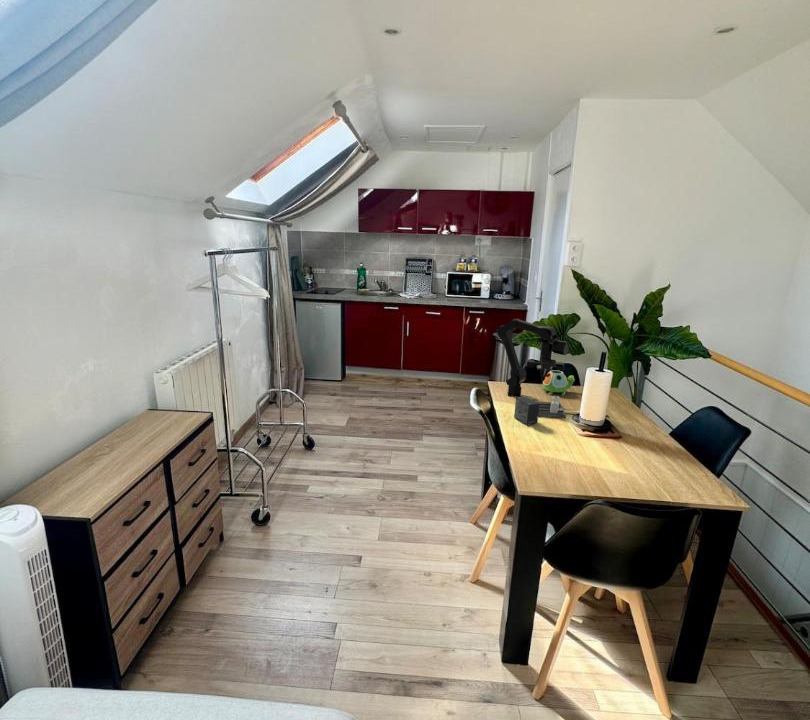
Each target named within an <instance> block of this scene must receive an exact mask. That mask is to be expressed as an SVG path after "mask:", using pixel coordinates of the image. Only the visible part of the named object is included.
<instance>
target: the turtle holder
mask: <svg viewBox="0 0 810 720" xmlns="http://www.w3.org/2000/svg"><path fill="white" fill-rule="evenodd" d="M575 381H576V379H575V376H574V375H572V374H571V375H569V376H568V377H567V376H566V375H565V373H564V372H563V370H558V369H556V370H553V369H552V371H549V372H548V374H547V376H546V378H545V380H544V381H542V388H543V390H544V391H548V393H547V395H548V396H549V395H551V396H553V395H554V393H561V395H562V396H565V395H566V392H567V391H568V390H569V389H570V388H572V386H573V384H574V382H575Z"/></svg>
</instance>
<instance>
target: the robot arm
mask: <svg viewBox="0 0 810 720" xmlns="http://www.w3.org/2000/svg"><path fill="white" fill-rule="evenodd" d="M517 328H518V329H521V330H524V331H527V332H530V333H532V334H536V335H537V336H538V337H540V338H539V339H538V340H537V343H540V344H541V345H540V353H539V361H535V360H534V359H526V360H525V366H526V368H532V369H533V368H534V367H536V368H537V370H539V372H540V376H541V381H542V382H543V381H544V380H545V378H546V376H547V374H548V373H549V372H550V371H552V370H553V368H556V370H557V371H565V364H564V362H562V361H557V360H556V359H552V356H553V354H556V355H562V356H567V354H568V352H569V349H570V348H569V344H568V341H566V340H564V341H563V340H560V337H559V336H558V334H557V330H556V329H555V327H553V326H548V325H539V324H536V323H532V322H528V321H526V320H522V319H519V318H514V319H512V320H511V321H510V322H508V323H506V324H504V325H500V326H498V327H497V329H496V333H497V336H498V338H499V340H500V341H501V342H502V343H503V345H504V349H505V352H506V355H507V359H508V363H509V366H510V373H509V376H510V377H509V378H508V379H507V380H506V386H507V392H506V393H507V396H508V397H515V398H516V397H521V395H522V386H521V385H522V384H523V383H524V381H525V380H526V379H527V374H528V373H527V372H526V368H525V367H522V366H521V364H520V362H519V358H518V354H517V353H516V349H515V346H514V342H513V335H514V334H513V331H515V330H516V329H517Z"/></svg>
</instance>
